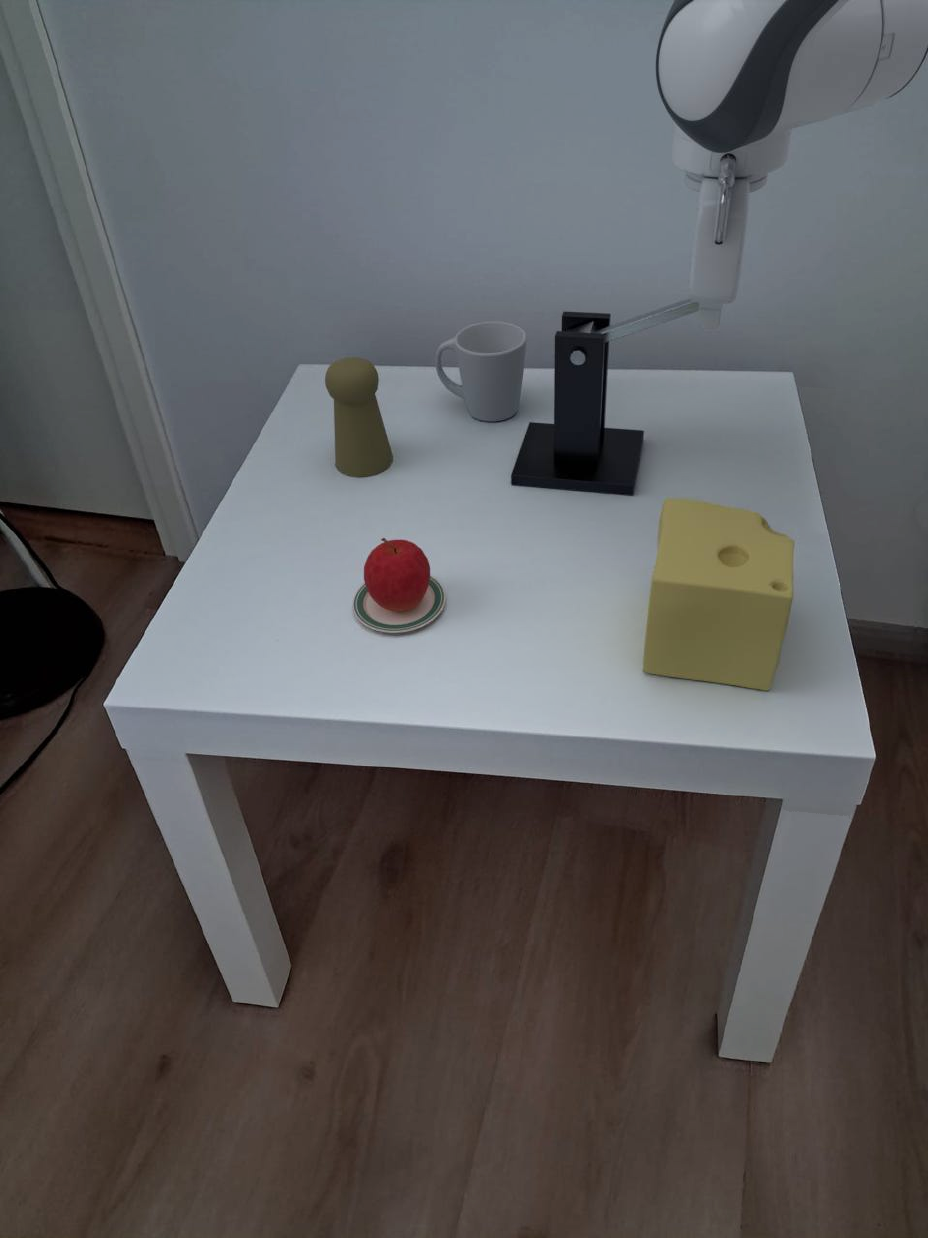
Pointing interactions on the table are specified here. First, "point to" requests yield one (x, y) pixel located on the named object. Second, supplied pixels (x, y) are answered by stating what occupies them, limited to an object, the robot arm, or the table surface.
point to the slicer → (580, 422)
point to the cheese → (718, 595)
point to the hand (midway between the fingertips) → (709, 308)
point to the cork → (357, 418)
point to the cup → (487, 368)
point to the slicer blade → (641, 320)
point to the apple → (398, 589)
